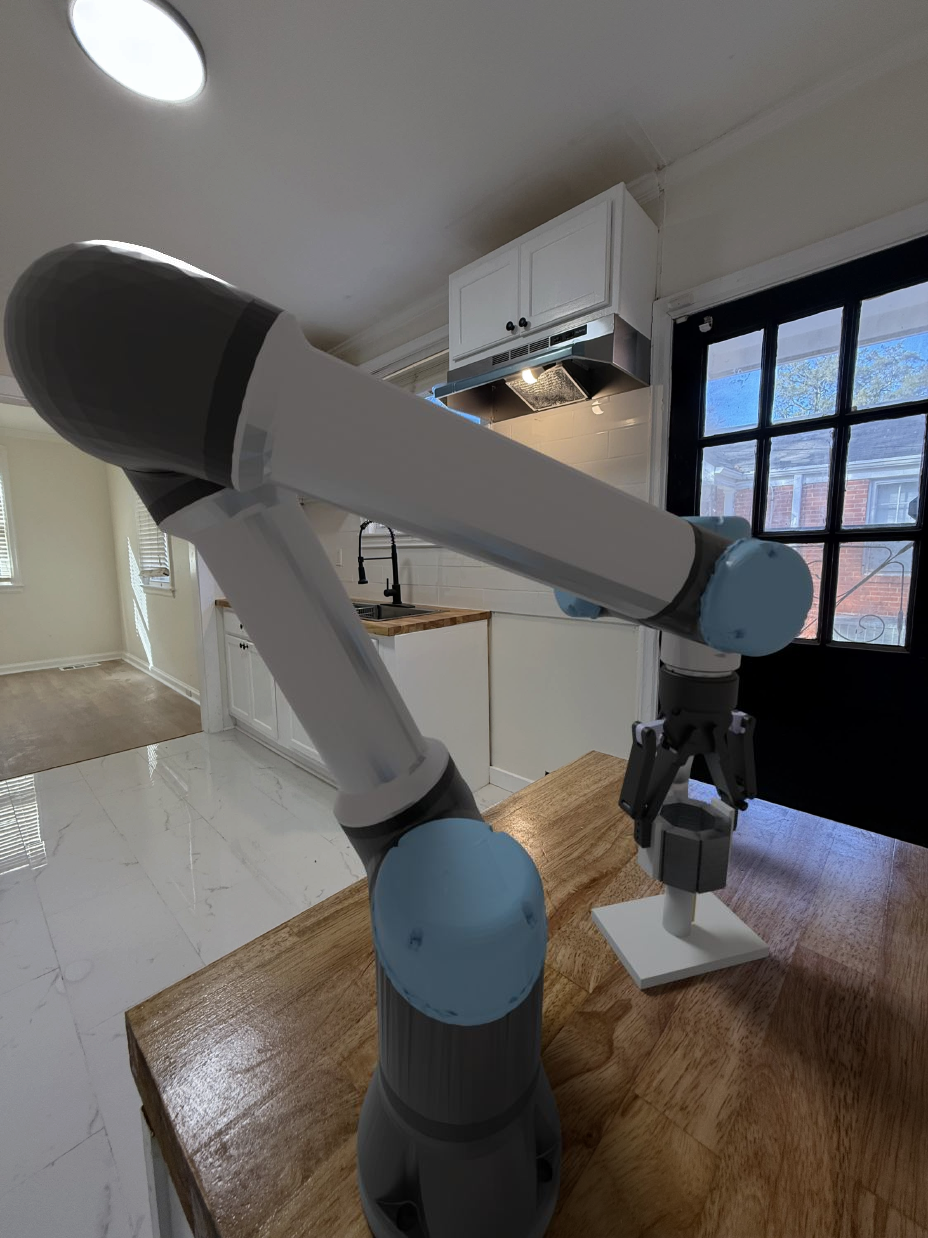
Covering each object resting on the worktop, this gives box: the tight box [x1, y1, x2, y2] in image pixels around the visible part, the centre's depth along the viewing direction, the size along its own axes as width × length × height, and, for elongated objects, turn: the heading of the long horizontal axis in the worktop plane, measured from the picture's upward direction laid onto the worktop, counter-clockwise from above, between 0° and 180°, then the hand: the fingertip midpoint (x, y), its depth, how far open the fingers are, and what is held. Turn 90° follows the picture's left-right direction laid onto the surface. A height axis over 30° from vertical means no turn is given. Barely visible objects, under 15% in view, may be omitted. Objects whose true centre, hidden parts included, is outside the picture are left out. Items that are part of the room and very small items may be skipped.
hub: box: [656, 795, 732, 894], centre depth 56 cm, size 8×8×6 cm
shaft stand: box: [590, 884, 770, 990], centre depth 57 cm, size 16×10×8 cm, turn 105°
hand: (683, 863), depth 56 cm, fingers closed on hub, 8 cm apart
